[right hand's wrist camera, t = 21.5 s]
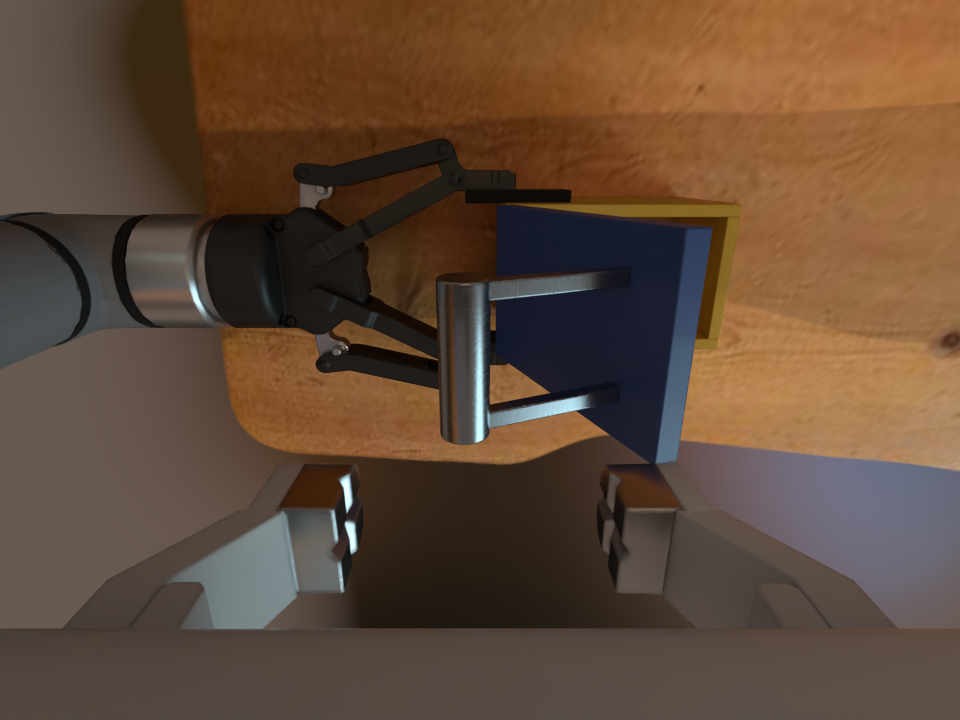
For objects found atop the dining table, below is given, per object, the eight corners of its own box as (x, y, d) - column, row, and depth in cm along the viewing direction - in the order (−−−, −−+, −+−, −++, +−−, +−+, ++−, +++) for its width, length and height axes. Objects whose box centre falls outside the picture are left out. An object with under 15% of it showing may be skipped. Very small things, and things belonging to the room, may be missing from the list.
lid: (713, 226, 17) (469, 239, 14) (677, 460, 20) (471, 518, 17) (515, 204, 29) (361, 208, 26) (512, 351, 33) (374, 372, 29)
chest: (681, 197, 39) (742, 204, 30) (666, 311, 42) (717, 349, 33) (499, 197, 39) (505, 204, 30) (498, 311, 42) (503, 349, 33)
